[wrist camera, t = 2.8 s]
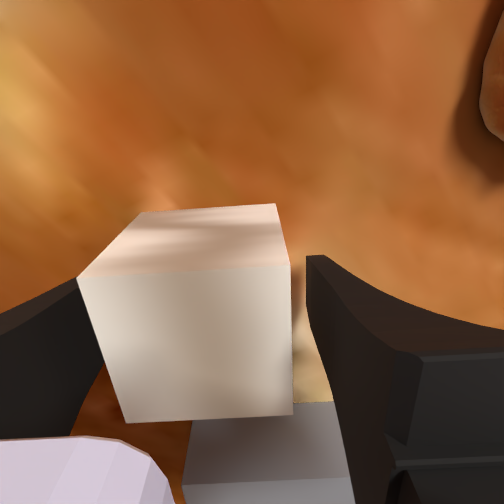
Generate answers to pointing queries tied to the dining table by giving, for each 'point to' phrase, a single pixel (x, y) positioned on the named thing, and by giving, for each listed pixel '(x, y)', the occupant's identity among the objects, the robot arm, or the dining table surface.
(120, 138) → the dining table surface
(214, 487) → the gray panel
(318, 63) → the dining table surface
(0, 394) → the robot arm
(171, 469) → the dining table surface
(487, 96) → the pastry
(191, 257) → the cream block
